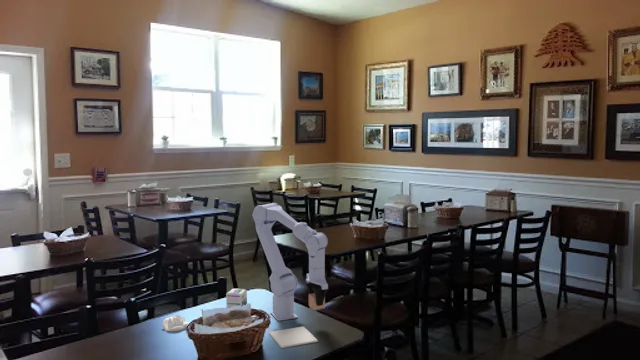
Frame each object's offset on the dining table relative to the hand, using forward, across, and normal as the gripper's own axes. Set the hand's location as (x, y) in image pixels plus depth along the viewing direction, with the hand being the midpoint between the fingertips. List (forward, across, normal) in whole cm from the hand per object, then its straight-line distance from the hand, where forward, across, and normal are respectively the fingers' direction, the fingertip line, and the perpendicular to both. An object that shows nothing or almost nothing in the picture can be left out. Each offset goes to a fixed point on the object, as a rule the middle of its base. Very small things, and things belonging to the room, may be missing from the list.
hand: (316, 303), depth 186 cm
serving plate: (+8, +7, -12) cm, 16 cm away
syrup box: (+9, -8, -28) cm, 30 cm away
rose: (+9, -20, -47) cm, 52 cm away
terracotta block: (+2, 0, 0) cm, 2 cm away
